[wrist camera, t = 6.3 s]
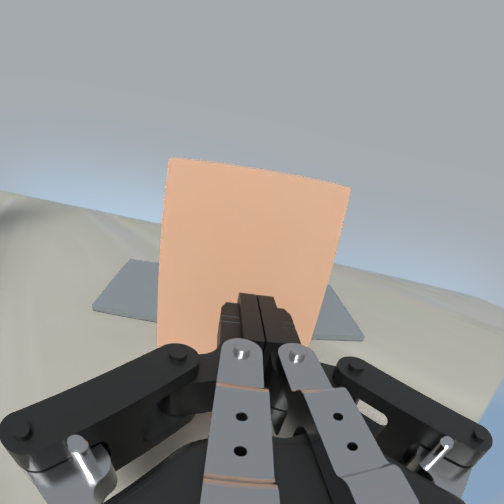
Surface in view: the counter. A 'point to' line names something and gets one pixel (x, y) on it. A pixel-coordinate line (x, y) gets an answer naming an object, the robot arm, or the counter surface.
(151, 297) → the mat
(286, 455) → the robot arm
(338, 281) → the counter surface
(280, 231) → the tile
